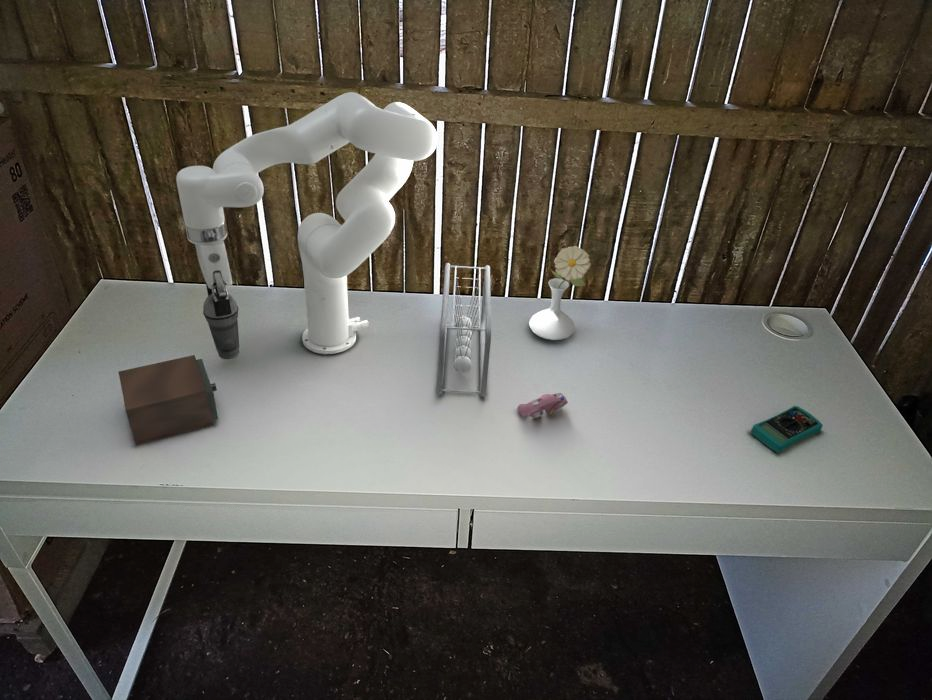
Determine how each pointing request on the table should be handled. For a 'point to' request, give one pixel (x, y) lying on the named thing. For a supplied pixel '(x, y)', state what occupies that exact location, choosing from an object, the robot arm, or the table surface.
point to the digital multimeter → (786, 428)
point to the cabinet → (165, 399)
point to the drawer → (208, 389)
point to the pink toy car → (542, 405)
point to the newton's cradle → (466, 330)
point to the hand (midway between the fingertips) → (219, 305)
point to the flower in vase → (553, 319)
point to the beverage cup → (223, 328)
